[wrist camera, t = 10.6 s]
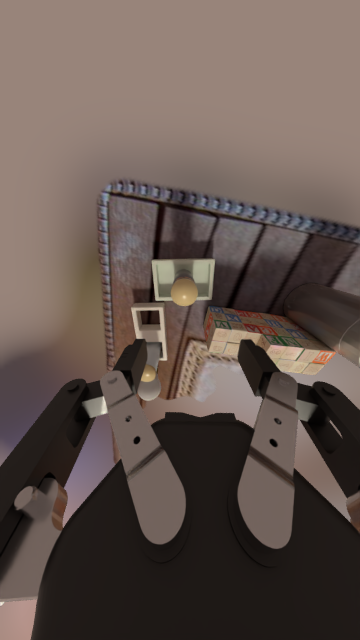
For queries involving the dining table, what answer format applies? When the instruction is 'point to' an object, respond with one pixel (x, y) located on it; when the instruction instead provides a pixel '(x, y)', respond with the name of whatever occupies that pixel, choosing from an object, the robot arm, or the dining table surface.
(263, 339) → the stack of blocks
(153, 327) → the tray
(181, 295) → the cylinder
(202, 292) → the parts tray
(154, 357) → the fuse
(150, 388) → the light bulb
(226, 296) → the dining table surface
